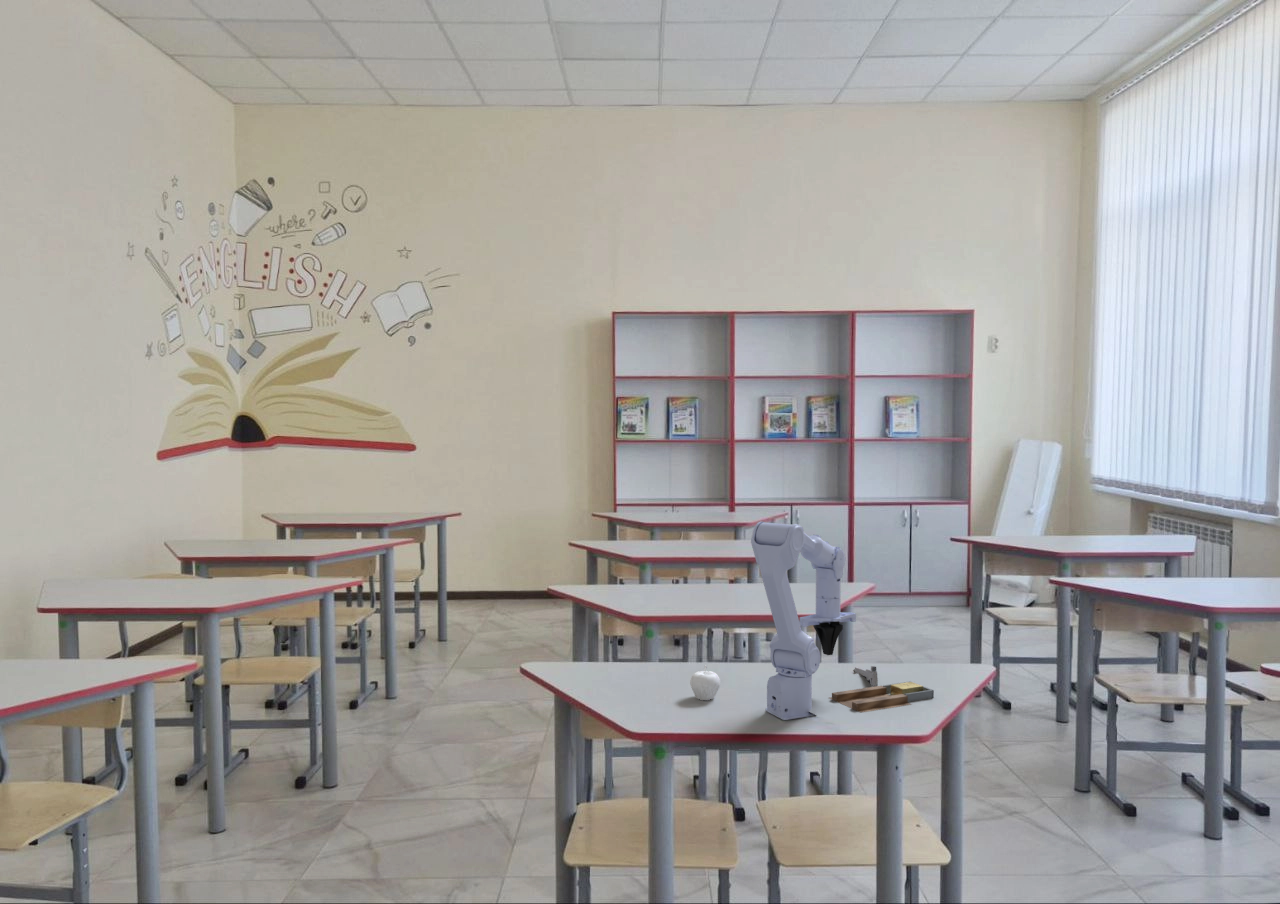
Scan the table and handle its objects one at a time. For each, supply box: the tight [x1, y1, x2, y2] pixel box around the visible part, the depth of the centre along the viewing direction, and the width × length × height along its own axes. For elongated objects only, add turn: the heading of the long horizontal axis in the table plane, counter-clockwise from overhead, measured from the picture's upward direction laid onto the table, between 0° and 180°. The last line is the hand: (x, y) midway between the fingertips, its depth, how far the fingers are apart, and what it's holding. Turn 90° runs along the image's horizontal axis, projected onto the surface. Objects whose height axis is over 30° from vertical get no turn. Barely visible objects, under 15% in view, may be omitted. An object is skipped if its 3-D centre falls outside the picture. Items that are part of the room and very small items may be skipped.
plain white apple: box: [690, 664, 721, 701], centre depth 219 cm, size 7×7×8 cm
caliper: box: [853, 665, 879, 687], centre depth 233 cm, size 20×1×6 cm, turn 0°
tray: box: [882, 681, 935, 703], centre depth 217 cm, size 8×8×3 cm
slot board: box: [829, 685, 913, 713], centre depth 212 cm, size 14×12×3 cm
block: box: [890, 681, 924, 696], centre depth 217 cm, size 6×4×3 cm, turn 114°
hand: (827, 654), depth 220 cm, fingers closed
